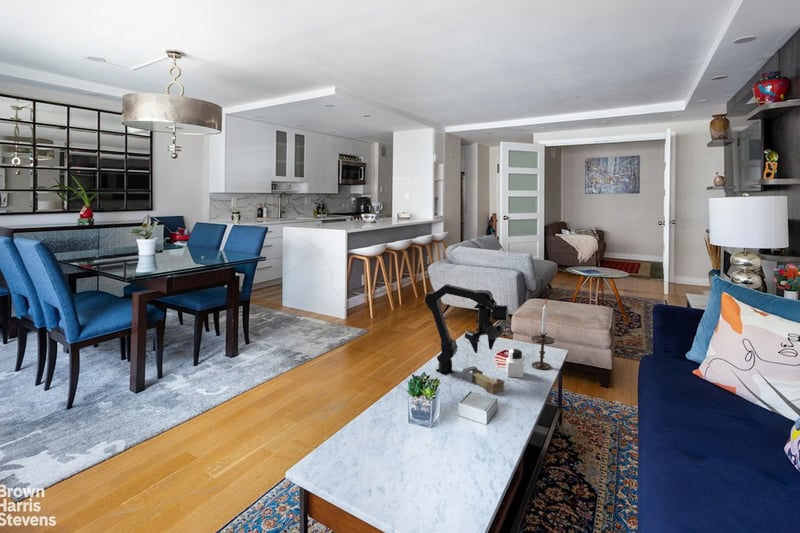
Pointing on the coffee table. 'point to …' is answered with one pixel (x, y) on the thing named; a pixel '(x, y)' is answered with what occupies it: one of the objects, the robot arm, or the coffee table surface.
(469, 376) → the sleeve
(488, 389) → the socket
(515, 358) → the medicine bottle
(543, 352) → the candlestick
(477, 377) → the bar
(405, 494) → the coffee table surface
